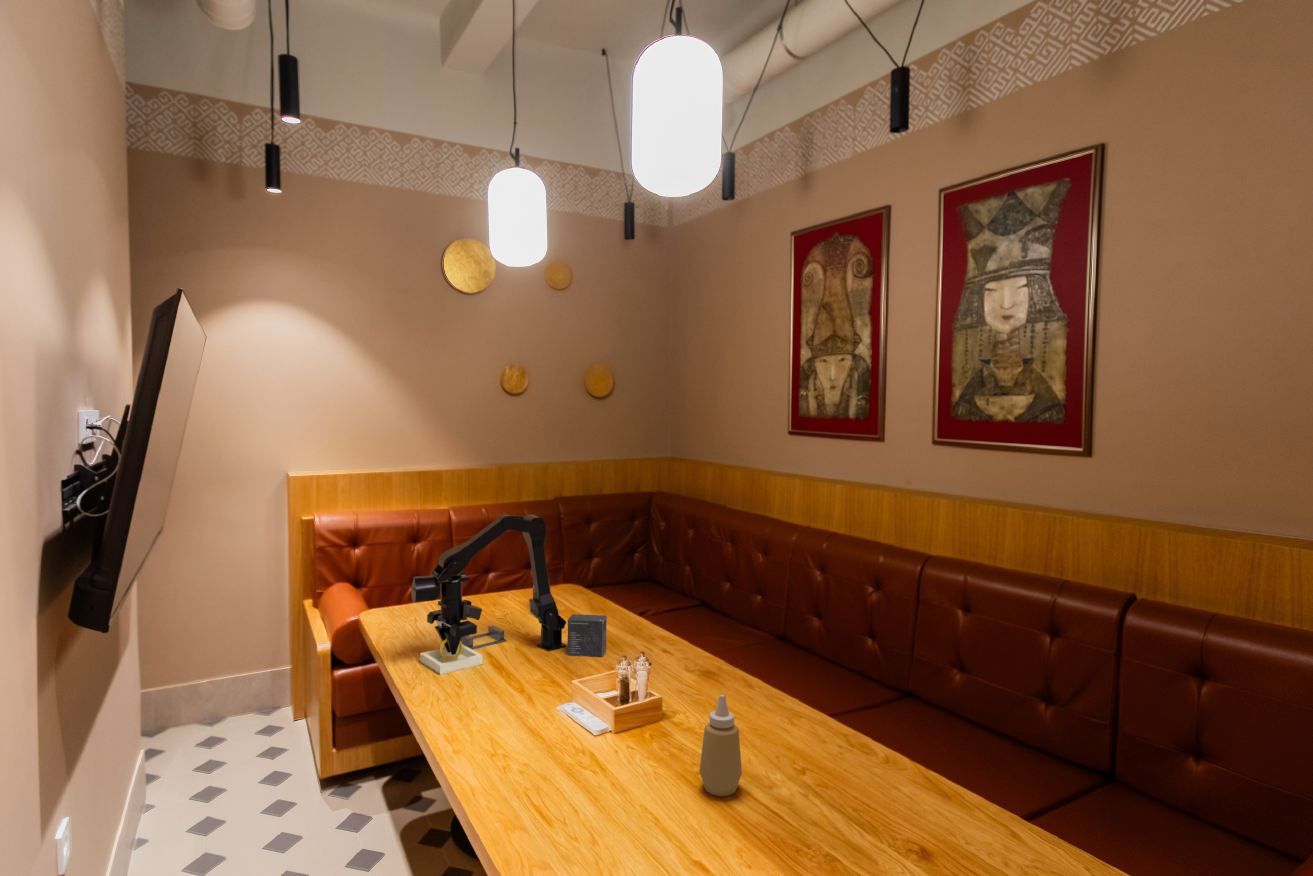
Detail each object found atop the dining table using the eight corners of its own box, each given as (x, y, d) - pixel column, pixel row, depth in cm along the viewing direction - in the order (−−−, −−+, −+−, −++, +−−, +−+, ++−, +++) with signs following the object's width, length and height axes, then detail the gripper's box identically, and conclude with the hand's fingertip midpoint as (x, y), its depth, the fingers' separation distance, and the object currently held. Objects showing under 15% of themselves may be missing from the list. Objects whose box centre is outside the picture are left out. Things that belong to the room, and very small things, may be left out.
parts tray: (482, 664, 199) (482, 655, 199) (440, 675, 190) (440, 665, 190) (461, 652, 208) (461, 643, 208) (420, 662, 200) (420, 653, 200)
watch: (442, 662, 197) (440, 641, 196) (439, 658, 199) (438, 637, 198) (463, 657, 200) (462, 636, 199) (461, 653, 202) (460, 633, 201)
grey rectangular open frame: (506, 641, 218) (506, 631, 218) (470, 650, 210) (470, 639, 210) (490, 633, 225) (490, 624, 225) (455, 641, 217) (455, 632, 217)
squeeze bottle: (714, 773, 142) (716, 684, 141) (749, 788, 137) (752, 695, 136) (690, 790, 136) (692, 696, 135) (726, 806, 131) (728, 708, 130)
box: (606, 649, 212) (607, 614, 212) (603, 657, 206) (603, 621, 205) (571, 648, 213) (571, 613, 213) (566, 655, 207) (566, 620, 206)
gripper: (494, 599, 197) (494, 655, 198) (462, 586, 211) (462, 638, 211) (456, 607, 189) (457, 665, 190) (426, 592, 203) (426, 647, 204)
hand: (451, 653), depth 199 cm, fingers closed on watch, 2 cm apart
